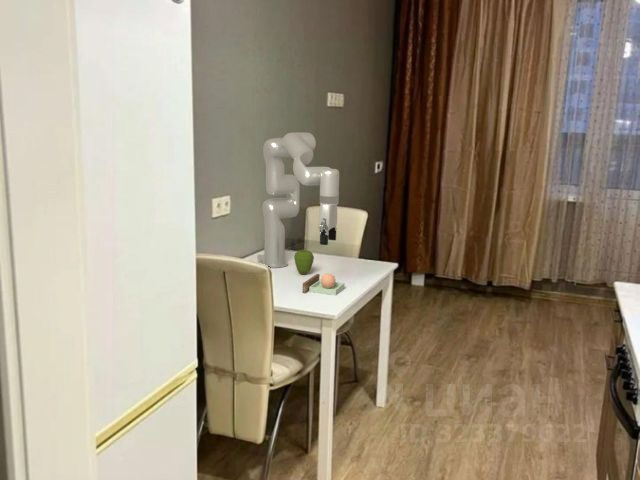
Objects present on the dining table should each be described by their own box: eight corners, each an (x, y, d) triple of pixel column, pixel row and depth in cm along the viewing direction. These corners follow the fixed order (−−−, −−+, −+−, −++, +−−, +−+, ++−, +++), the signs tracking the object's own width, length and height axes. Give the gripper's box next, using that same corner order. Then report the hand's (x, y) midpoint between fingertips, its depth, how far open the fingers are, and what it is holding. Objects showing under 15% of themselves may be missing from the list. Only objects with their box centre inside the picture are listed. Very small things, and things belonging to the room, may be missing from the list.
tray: (309, 291, 243) (309, 287, 243) (319, 284, 254) (319, 280, 253) (335, 295, 240) (335, 290, 239) (344, 288, 250) (344, 283, 249)
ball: (317, 286, 245) (319, 272, 245) (322, 287, 250) (324, 273, 251) (331, 288, 243) (333, 274, 243) (336, 289, 248) (338, 275, 249)
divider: (302, 293, 242) (302, 283, 241) (316, 283, 257) (316, 273, 256) (305, 293, 241) (305, 283, 241) (319, 283, 256) (319, 274, 255)
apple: (295, 276, 265) (295, 251, 263) (293, 272, 274) (293, 247, 271) (314, 276, 267) (315, 251, 264) (312, 271, 275) (312, 246, 273)
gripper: (327, 196, 248) (326, 237, 252) (312, 202, 232) (311, 245, 236) (344, 198, 246) (343, 239, 249) (330, 203, 230) (329, 247, 233)
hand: (328, 242), depth 243 cm, fingers open, 9 cm apart
